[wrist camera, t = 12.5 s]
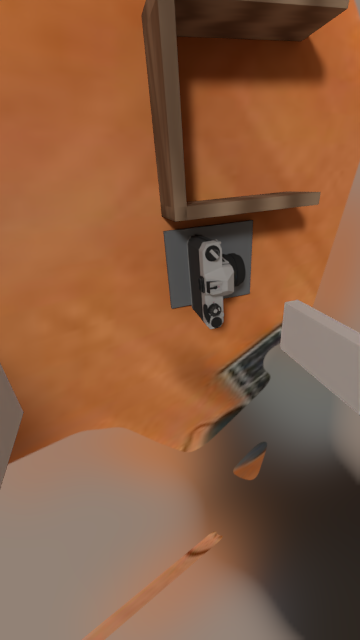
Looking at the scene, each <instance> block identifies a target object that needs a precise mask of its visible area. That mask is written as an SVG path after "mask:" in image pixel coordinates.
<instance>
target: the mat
mask: <svg viewBox="0 0 360 640" xmlns="http://www.w3.org/2000/svg"><path fill="white" fill-rule="evenodd" d="M252 231H253V220H248V221H241V222H233V223H225V224H217V225H209V226H201V227H193V228H185V229H177V230H170V231H163V232H164V242H165V252H166V261H167V271H168V281H169V291H170V301H171V308H172V309H173V308H178V307H183V306H188V305H192V301H191V289H190V277H189V265H188V252H187V241H188V239H189V237H190V236H194V235H195V234H197V235H202V236H205V237H207V238H209V239H212V240H214V241H216V240H215V239H217V241H220V242H221V244H220V246H221V248H222V254H225V255H227V254H230V253H235V254H236V255H240V256H241V258H242V259H243V261H244V264H245V270H246V275H245V280H244V282H243V283H241V284H240V285H239V286H236V287H234V292H233V293H232V294H229V295H225V296H223V299H224V298H229V297H234V296H240V295H245V294H250V275H251V253H252Z"/></svg>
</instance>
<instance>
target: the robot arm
mask: <svg viewBox="0 0 360 640" xmlns="http://www.w3.org/2000/svg"><path fill="white" fill-rule="evenodd" d="M280 349H282V350H283V351H284V352H285V353H286V354H287V355H289V356H290V357H291V358H292V359H293V360H295V361H296V362H297V363H298V364H299V365H301V366H302V367H303V368H304V369H306V371H308V372H309V373H310V374H311V375H313V376H314V377H315V378H316V379H317V380H318V381H320V382H321V383H322V384H323V385H324V386H326V387H327V388H328V389H329V390H330V391H332V392H333V393H334V394H335V395H336V396H337V397H339V398H340V399H341V400H342V401H343V402H345V403H346V404H347V405H348V406H349V407H350V408H352V409H353V410H354V411H355V412H356V413H358V414H359V415H360V333H359V332H357V331H355V330H353V329H351V328H349V327H348V326H346V325H344V324H342V323H340V322H338V321H336V320H334V319H333V318H331V317H329V316H327V315H325V314H323V313H321V312H320V311H318V310H316V309H314V308H312V307H310V306H308V305H306V304H305V303H303V302H301V301H299V300H295V301H290V302H285V306H284V315H283V324H282V333H281V342H280ZM23 413H24V412H23V410H22V408H21V406H20V404H19V402H18V400H17V398H16V395H15V393H14V391H13V389H12V387H11V385H10V383H9V381H8V379H7V376H6V374H5V372H4V370H3V368H2V366H1V364H0V488H1V484H2V481H3V478H4V475H5V471H6V468H7V465H8V462H9V458H10V455H11V452H12V449H13V445H14V442H15V439H16V435H17V432H18V429H19V426H20V422H21V419H22V416H23Z"/></svg>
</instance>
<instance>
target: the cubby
mask: <svg viewBox="0 0 360 640" xmlns="http://www.w3.org/2000/svg"><path fill="white" fill-rule="evenodd" d="M348 3H349V0H146V2H145V5H144V9H143V12H142V24H143V34H144V44H145V54H146V64H147V74H148V84H149V93H150V103H151V113H152V123H153V133H154V143H155V153H156V163H157V172H158V182H159V192H160V202H161V212H162V217H165V218H167V219H170V220H173V221H175V222H176V221H184V220H193V219H201V218H209V217H218V216H226V215H234V214H243V213H251V212H259V211H268V210H276V209H284V208H293V207H301V206H309V205H318V204H319V199H320V192H279V193H270V194H260V195H251V196H241V197H231V198H222V199H212V200H203V201H193V202H186V187H185V170H184V154H183V137H182V120H181V104H180V87H179V71H178V54H177V38H176V36H182V37H207V38H233V39H259V40H285V41H302V40H304V39H305V38H307V37H308V36H309V35H311V34H312V33H314V32H315V31H316V30H318V29H319V28H321V27H322V26H324V25H325V24H326V23H328V22H329V21H331V20H332V19H333V18H335V17H336V16H338V15H339V14H340V13H342V12H343V11H345V10H346V9H347V8H348Z"/></svg>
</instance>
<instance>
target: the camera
mask: <svg viewBox="0 0 360 640" xmlns="http://www.w3.org/2000/svg"><path fill="white" fill-rule="evenodd" d="M215 240H216V241H214V240H212V239H209V238H207V237H205V236H202V235H197V234H195V235H194V236H190V237H189V239H188V241H187V252H188V265H189V277H190V289H191V301H192V308H193V310H194V311H195V312H196V313H197V314H198V315H199V317H200V318H201V319H202V321H203V322H204V323H205V324H206V325H207V326H208V327H209V328H210V329H214V328H218V327H221V325H222V323H223V317H224V313H223V296H225V295H229V294H232V293H233V292H234V287H236V286H239V285H240V284H241V283H243V282H244V280H245V275H246V270H245V264H244V261H243V259H242V258H241V256H240V255H236V254H235V253H230V254H227V255H225V254H222V248H221V246H220V244H221V242H220V241H217V239H215Z"/></svg>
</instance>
